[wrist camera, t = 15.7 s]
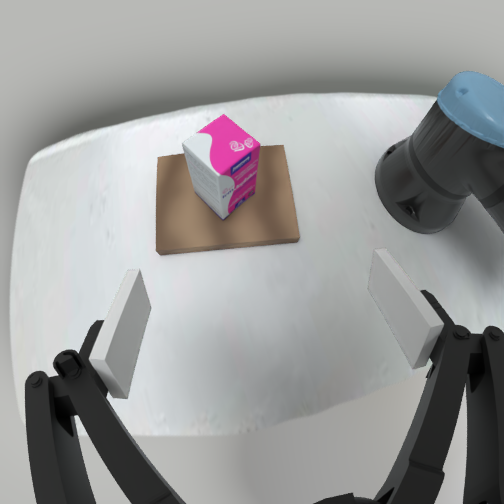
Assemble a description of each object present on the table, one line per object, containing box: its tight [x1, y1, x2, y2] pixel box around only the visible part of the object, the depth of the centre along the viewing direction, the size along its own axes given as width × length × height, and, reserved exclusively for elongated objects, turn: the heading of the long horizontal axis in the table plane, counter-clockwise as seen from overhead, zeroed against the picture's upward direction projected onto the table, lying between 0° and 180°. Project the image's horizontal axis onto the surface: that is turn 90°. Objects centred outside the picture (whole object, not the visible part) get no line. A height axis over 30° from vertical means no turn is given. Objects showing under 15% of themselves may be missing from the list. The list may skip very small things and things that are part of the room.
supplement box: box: [182, 114, 260, 220], centre depth 34 cm, size 6×6×12 cm
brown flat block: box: [156, 145, 300, 255], centre depth 41 cm, size 18×14×2 cm
